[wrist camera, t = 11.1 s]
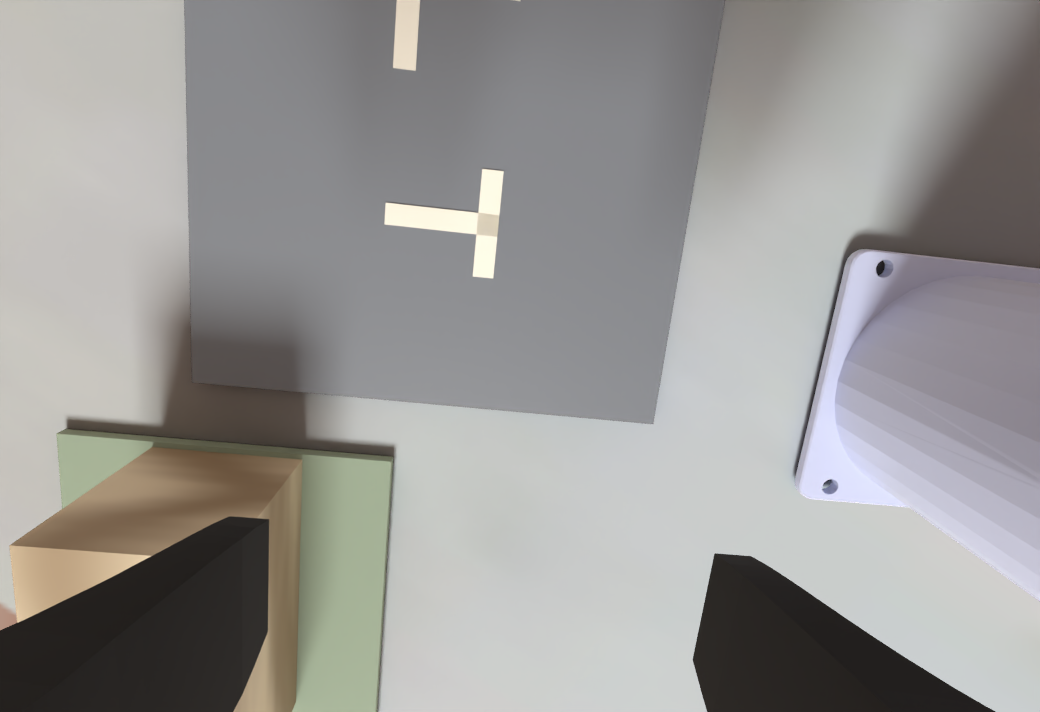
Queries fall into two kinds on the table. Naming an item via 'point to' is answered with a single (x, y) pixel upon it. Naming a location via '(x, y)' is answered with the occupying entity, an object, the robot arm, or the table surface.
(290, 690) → the birch block
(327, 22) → the gray tile
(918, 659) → the table surface
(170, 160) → the table surface
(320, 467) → the green square tile
